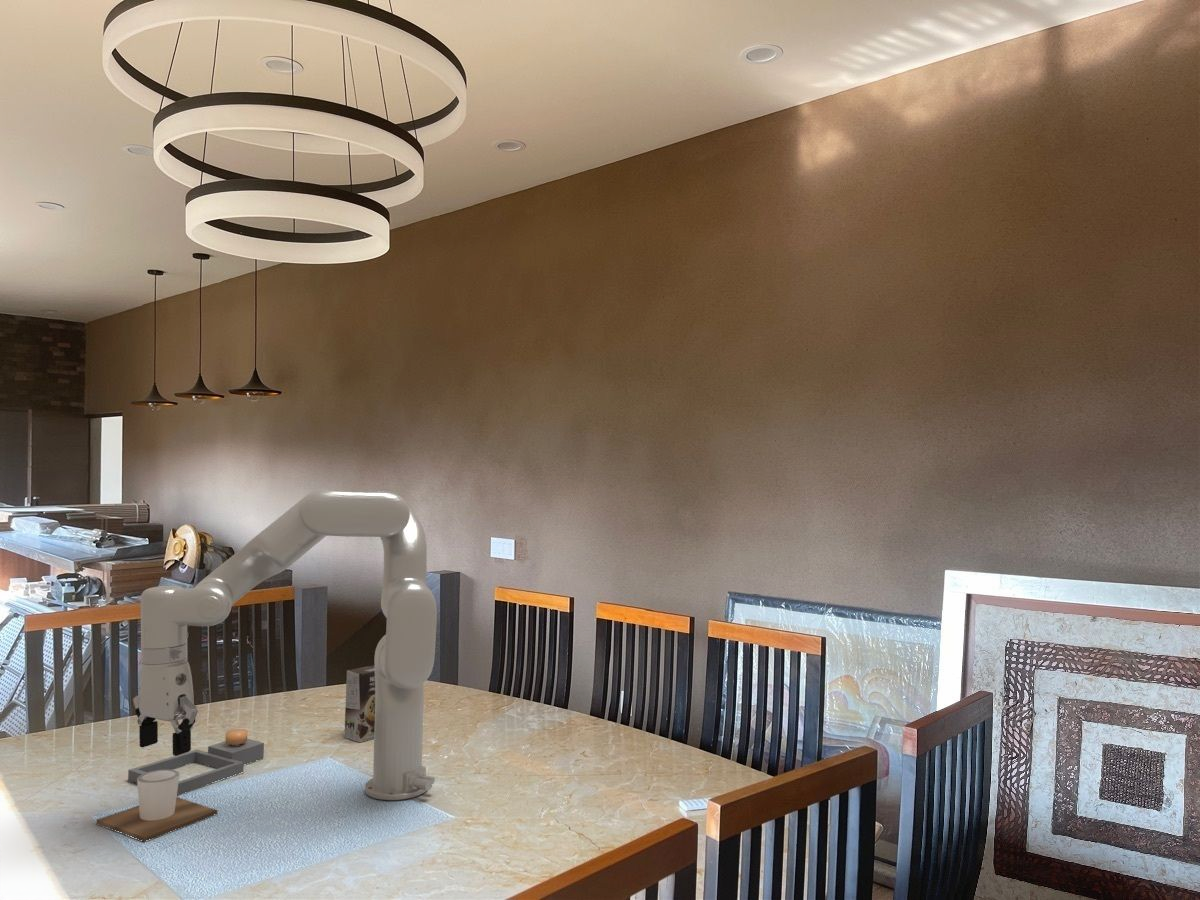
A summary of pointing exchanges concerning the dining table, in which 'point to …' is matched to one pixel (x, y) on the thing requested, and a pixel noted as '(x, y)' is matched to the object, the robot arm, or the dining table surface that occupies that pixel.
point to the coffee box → (360, 704)
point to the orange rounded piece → (236, 737)
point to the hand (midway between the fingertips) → (165, 749)
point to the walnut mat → (146, 829)
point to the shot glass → (157, 794)
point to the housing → (207, 763)
